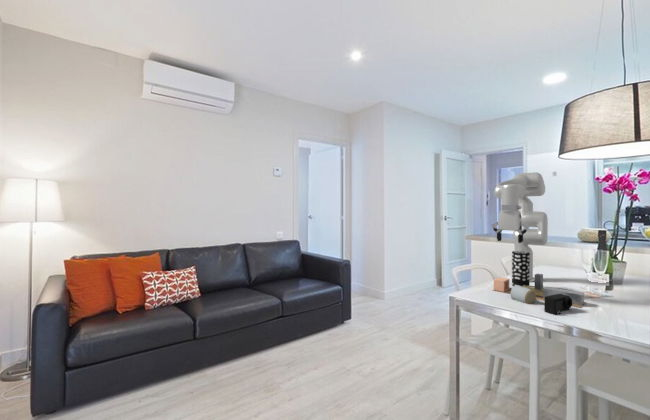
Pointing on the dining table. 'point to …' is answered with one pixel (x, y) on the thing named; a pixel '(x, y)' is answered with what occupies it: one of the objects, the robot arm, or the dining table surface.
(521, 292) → the ceramic mug
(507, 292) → the walnut board
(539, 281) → the hammer
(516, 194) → the robot arm
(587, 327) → the dining table surface
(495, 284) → the terracotta socket
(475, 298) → the dining table surface
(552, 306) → the digital camera
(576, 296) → the metal sleeve
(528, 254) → the spotted tube
